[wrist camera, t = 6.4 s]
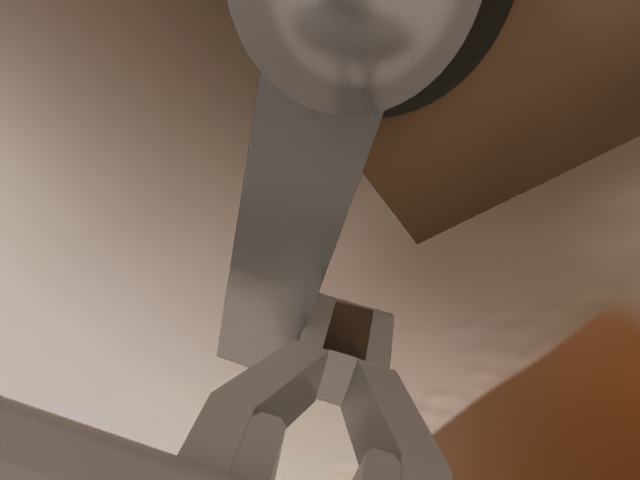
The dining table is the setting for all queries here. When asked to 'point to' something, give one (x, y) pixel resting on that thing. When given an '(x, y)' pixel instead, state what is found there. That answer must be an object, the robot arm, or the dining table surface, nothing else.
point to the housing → (510, 110)
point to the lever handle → (317, 142)
